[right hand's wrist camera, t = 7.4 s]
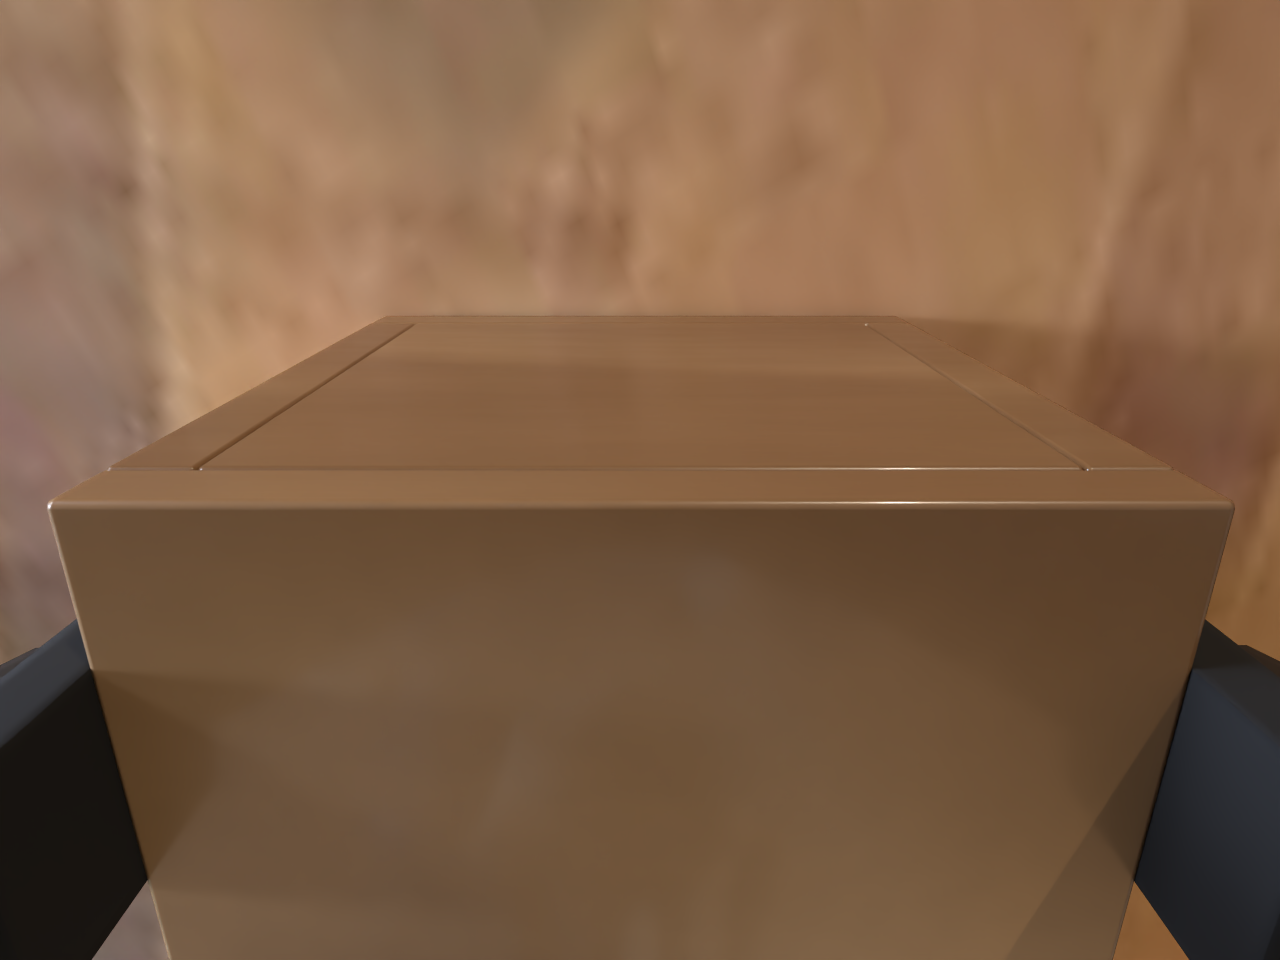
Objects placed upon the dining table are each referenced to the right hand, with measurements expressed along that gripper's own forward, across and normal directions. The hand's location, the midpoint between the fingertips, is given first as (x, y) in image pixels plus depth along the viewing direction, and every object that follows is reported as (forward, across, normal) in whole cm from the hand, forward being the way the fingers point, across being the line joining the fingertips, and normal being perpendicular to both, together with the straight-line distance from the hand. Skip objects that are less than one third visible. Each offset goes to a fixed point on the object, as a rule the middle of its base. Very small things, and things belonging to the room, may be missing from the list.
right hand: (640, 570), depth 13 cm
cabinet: (+6, 0, -7) cm, 9 cm away
